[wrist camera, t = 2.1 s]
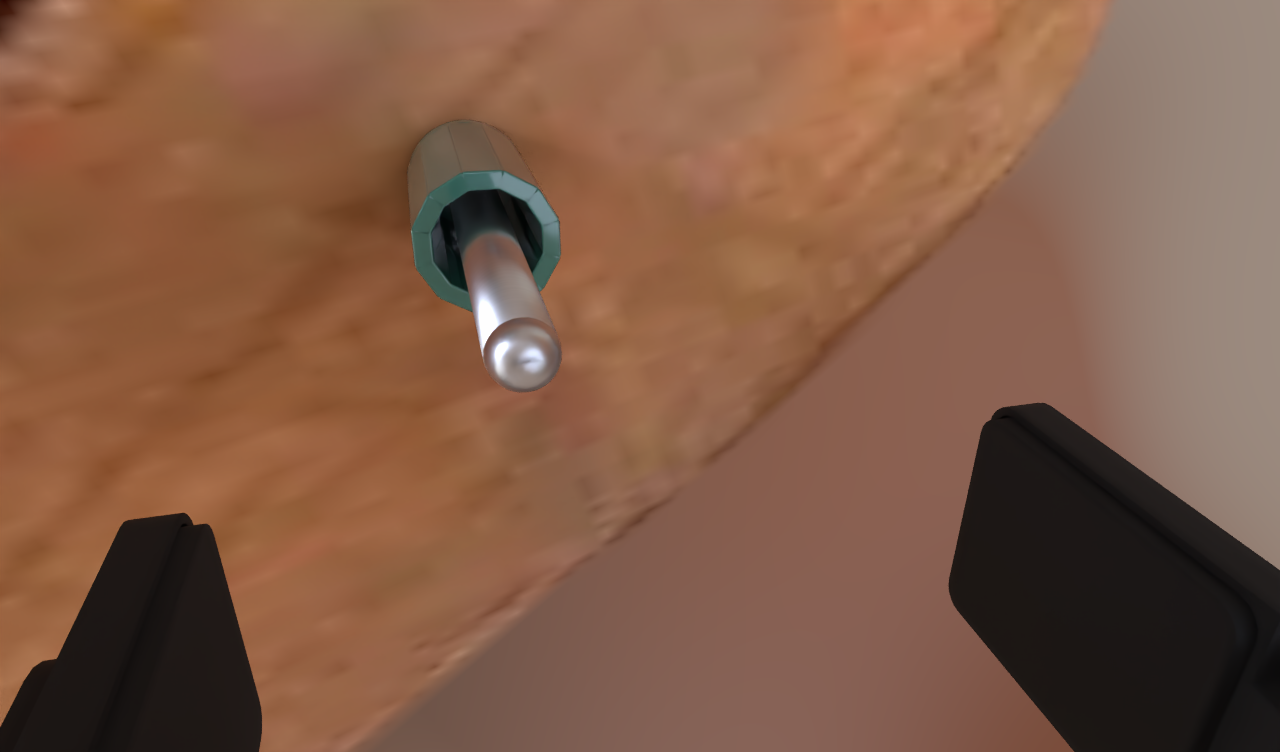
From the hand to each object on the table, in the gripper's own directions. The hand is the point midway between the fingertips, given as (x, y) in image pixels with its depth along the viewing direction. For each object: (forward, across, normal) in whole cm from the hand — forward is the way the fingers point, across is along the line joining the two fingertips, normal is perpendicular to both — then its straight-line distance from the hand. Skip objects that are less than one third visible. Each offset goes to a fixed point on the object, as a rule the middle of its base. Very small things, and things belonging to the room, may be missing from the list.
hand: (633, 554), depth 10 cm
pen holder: (+21, +1, 0) cm, 21 cm away
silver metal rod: (+20, +1, 0) cm, 20 cm away
